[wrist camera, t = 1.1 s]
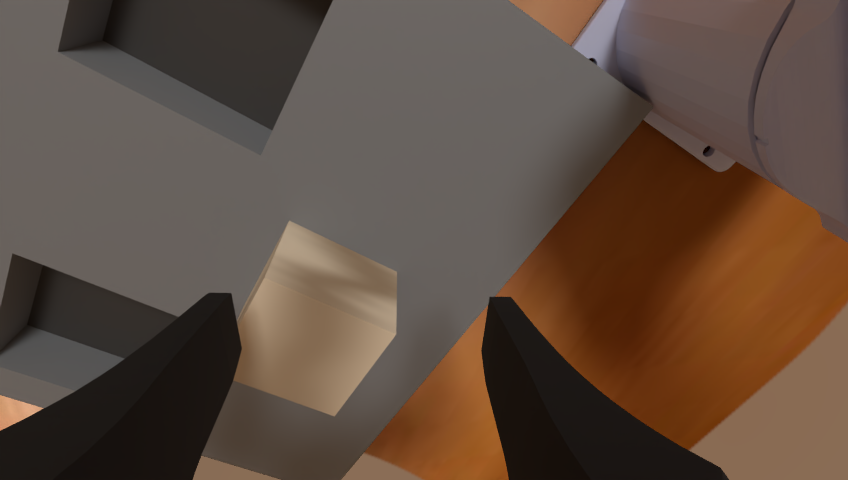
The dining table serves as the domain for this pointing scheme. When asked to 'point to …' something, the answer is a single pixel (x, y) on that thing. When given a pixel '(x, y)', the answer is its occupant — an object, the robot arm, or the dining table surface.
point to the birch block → (315, 321)
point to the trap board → (278, 180)
